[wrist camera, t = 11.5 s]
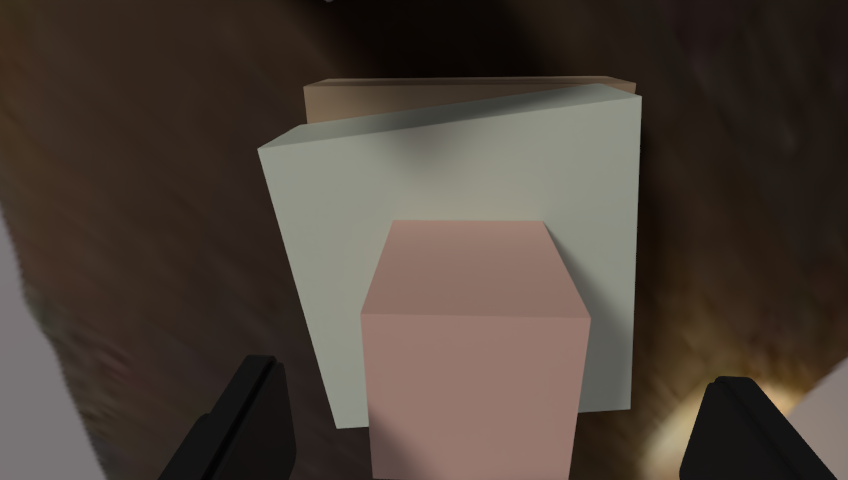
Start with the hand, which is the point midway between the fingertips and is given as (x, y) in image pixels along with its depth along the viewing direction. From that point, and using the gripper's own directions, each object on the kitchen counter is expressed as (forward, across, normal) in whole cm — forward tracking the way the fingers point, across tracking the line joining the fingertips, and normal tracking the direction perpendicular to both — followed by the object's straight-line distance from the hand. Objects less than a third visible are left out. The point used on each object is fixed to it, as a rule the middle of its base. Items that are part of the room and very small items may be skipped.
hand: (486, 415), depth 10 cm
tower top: (+11, 0, +1) cm, 11 cm away
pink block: (+6, 0, 0) cm, 7 cm away
